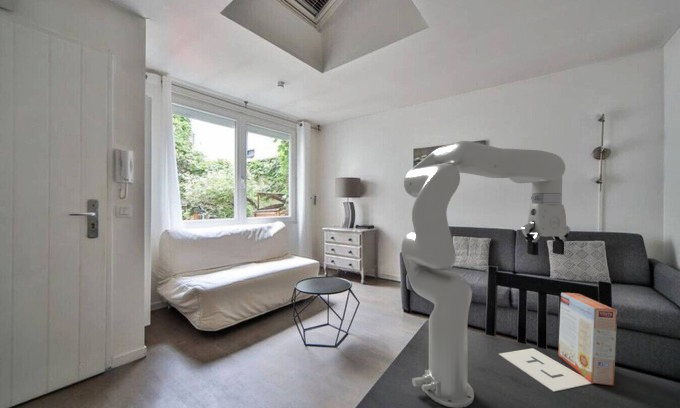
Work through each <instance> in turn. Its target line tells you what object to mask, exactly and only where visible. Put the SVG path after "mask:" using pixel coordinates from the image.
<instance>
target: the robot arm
mask: <svg viewBox="0 0 680 408" xmlns="http://www.w3.org/2000/svg"><path fill="white" fill-rule="evenodd" d="M565 171H566V163H565V162H564V159H563V158H561V156H559V155H558V154H556V153H553V152H549V151H544V150H540V149H539V150H538V149H522V148H521V149H520V148H501V147H495V146H492V145H487V144H483V143H479V142H474V141H472V140H471V141H470V140H461V141H456V142H453V143H450V144H446V145H443V146H440V147H438V148H436V149H435V150H433V151H432V152H431V153H429V154H428V155H427V156H425V157H424V158H423V159H422V160H421V161H420V162H418V163H417V164H415V165H414V166H413V167H412V168H411V169H410V170H409V171H408V172H407V173H406V174H405V177H404V180H403V188H404V190H405V192H406V193H407V194H408V195H409V196H411V197H413V198H415V201H414V203H413V206H412V210H411V221H412V225H413V230H411V231H409V232H408V233H406V235H405V236H404V238H403V239H402V243H401V256H402V259H403V260H402V261H403V263H404V267H405V270H406V274H407V277H408V281H409V283H410V285H411V288H412V290H413V291H414V292H415V293H416V294H417V295H418V296H419V297H421V298H423V299H426V300H427V301H429V302H430V303H432V304H434V305H433V306H434V307H433V310H432V312H431V313H430V314H429V319H428V369H425V370H424V374H422V376H418V377H412V378H411V383H412V385H413V387H420V386H421V387H420V388H421V389H422V391H423V392H425V394H426V395H427V396H428V397H429V398H430V399H431V400H432V401H434V402H436V403H437V404H439V405H443V406H445V407H448V408H466V407H468V406H470V405H471V404H472V403H473V402H474V399H475V391H474V389H473V388H472V386H471V384H470V383H469V382H468V320H469V319H468V318H469V311H470V308H471V307H470V306H471V303H472V296H473V293H472V287H471V285H470V283H469V281H467V279H466V278H464V277H463V276H462V275H460V274H457V273H455V272H453V271H449V270H450V269H452V267H453V266H454V265H455V263H456V260H457V259H456V256H457V255H456V249H455V246H454V245H455V244H454V241H453V238H452V233H451V230H450V226H449V222H448V216H447V211H448V206H449V204H450V201H451V199H452V197H453V196H454V194H455V193H456V191H457V190H458V188H459V185H460V182H461V174H469V175H475V176H480V177H486V178H491V179H509V180H510V181H512V182H514V183H516V184H531V196H530V199H531V204H530V206H529V212H528V217H527V218H528V221H527V223H526V224H525V225H524V226H522V227H521V228H520V229H521V232H522V235H523V238H524V239H525V241H526V242H527V250H526V251H527V252H526V253H527V255H530V256H531V255H532V256H538V255H539V242H538V240H539V239H540V237H552V238H553V239H554V240H553V241H552V253H553V254H555V255H561V256H563V255H565V242H566V241H567V238H568V236H569V234H570V232H571V231H570V230H571V227H569V226H568V225H567V217H566V209H565V206H564V204H563V176H564V174H565Z"/></svg>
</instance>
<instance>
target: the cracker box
mask: <svg viewBox="0 0 680 408" xmlns="http://www.w3.org/2000/svg"><path fill="white" fill-rule="evenodd" d="M559 311H560V312H559V329H558V330H559V331H558V332H559V333H558V335H559V336H558V354H557V355H558V357H560V358H561V359H562V360H563V361H564V362H565V363H567V364H568V365H569V366H571V367H572V368H573V370H575V371H576V372H578V374H579V375H581V376H583V377H585V378H586V379H587V380H588V381H590V382H591V383H593V384H595V385H596V384H598V385H605V386H612V387H614V386H615V366H616V364H615V363H616V345H617V343H616V341H617V319H618V317H617V315H618V309H615V308H613V307H610V306H608V305H606V304H603V303H601V302H599V301H597V300H594V299H592V298H590V297H587V296H585V295H583V294H581V293H575V292H572V293H571V292H561V293H560V310H559Z"/></svg>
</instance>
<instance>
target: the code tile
mask: <svg viewBox="0 0 680 408" xmlns="http://www.w3.org/2000/svg"><path fill="white" fill-rule="evenodd" d="M498 355H499V356H501V357H502V358H503V359H505V360H506V361H508V362H509V363H511V364H512V365H513V366H515V367H516V368H518V369H519V370H521V371H522V372H524V373H525V374H527V375H528V376H529V377H531V378H532V379H534V380H536V381H537V382H538V383H540V384H542V385H543V386H545V387H546V388H547V389H549V390H550V391H552V392H560V391H564V390H569V389H575V388H578V387H583V386H588V385H592V384H594V383H591V382H590V381H588V380H587V379H586V378H585V377H584V376H582V375H581V374H580V373H579V372H578V373H577V371H576V372H575V371H574V370H572V369H570V368H569V367H566V366H565V365H563V364H561V363H559V362H558V361H557V360H554V359H553V358H551V357H549V356H547V355H546V354H545V353H543V352H540V351H538V350H537V349H535V348H533V347H532V348H527V349H521V350H520V349H518V350H514V351H508V352H501V353H498Z"/></svg>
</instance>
